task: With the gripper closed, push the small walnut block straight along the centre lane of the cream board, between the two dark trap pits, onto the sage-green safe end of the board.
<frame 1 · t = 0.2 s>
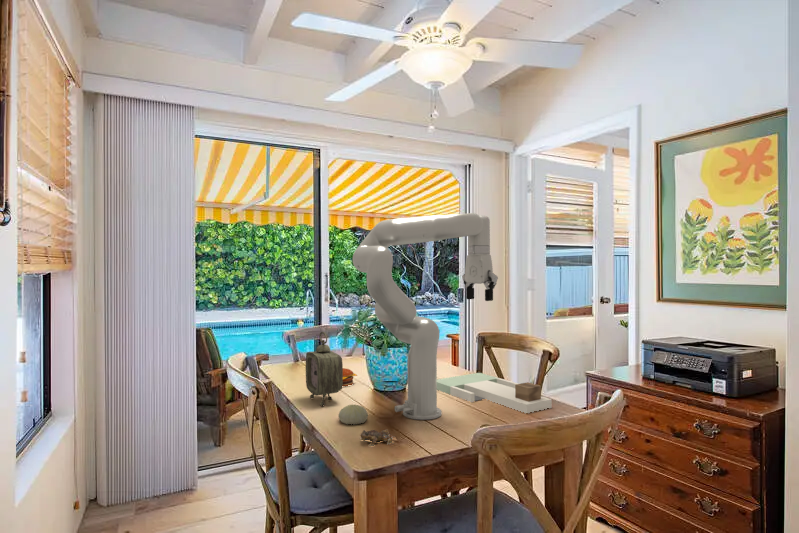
hand: (479, 299, 172), 36 cm above the table, tool pointing down, fingers open, 9 cm apart
hamburger: (342, 385, 200), on the table
walnut block: (528, 398, 168), point 3 cm above the table, touching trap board
frog figurine: (377, 443, 136), on the table
tabletop clock: (324, 402, 175), on the table
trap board: (493, 395, 182), on the table
sea urchin shell: (353, 422, 153), on the table
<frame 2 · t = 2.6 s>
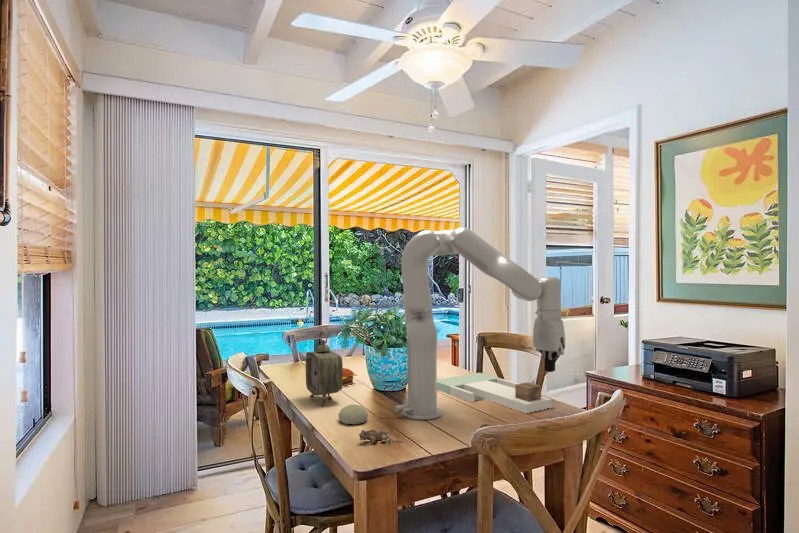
hand: (549, 371, 160), 14 cm above the table, tool pointing down, fingers closed
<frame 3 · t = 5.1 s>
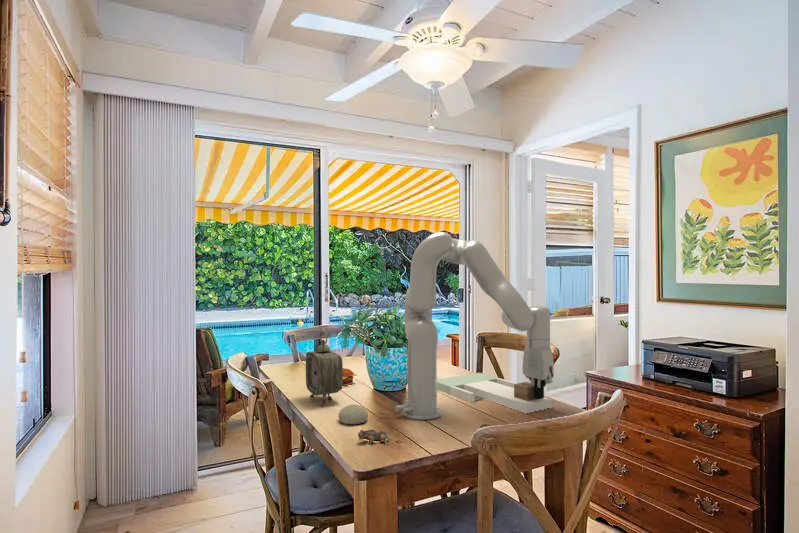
hand: (538, 398, 164), 4 cm above the table, tool pointing down, fingers closed
walnut block: (526, 397, 168), point 3 cm above the table, touching gripper
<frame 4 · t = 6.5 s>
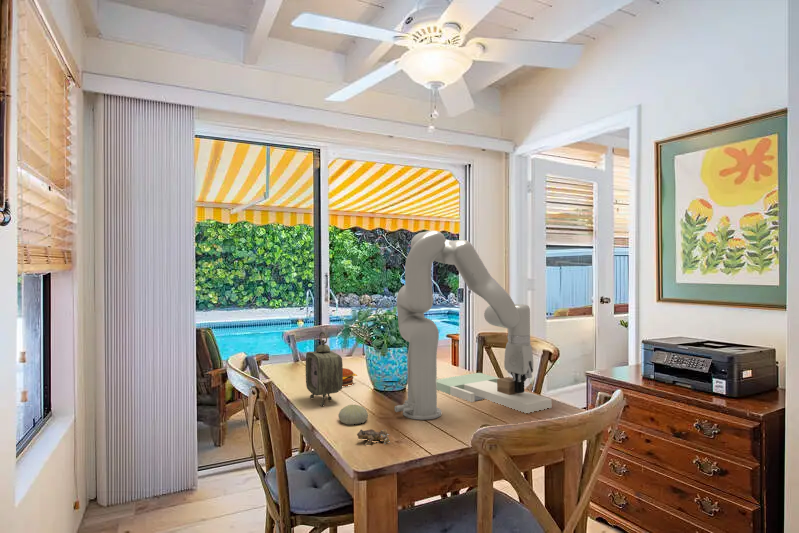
hand: (519, 392, 171), 4 cm above the table, tool pointing down, fingers closed
walnut block: (509, 391, 176), point 3 cm above the table, touching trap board
everything else where it was.
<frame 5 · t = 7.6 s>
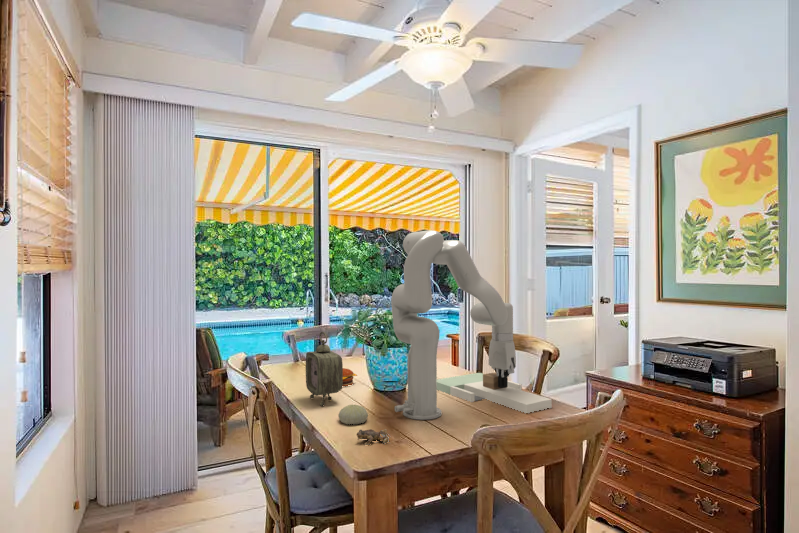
hand: (502, 387, 178), 4 cm above the table, tool pointing down, fingers closed
walnut block: (494, 386, 183), point 3 cm above the table, touching gripper
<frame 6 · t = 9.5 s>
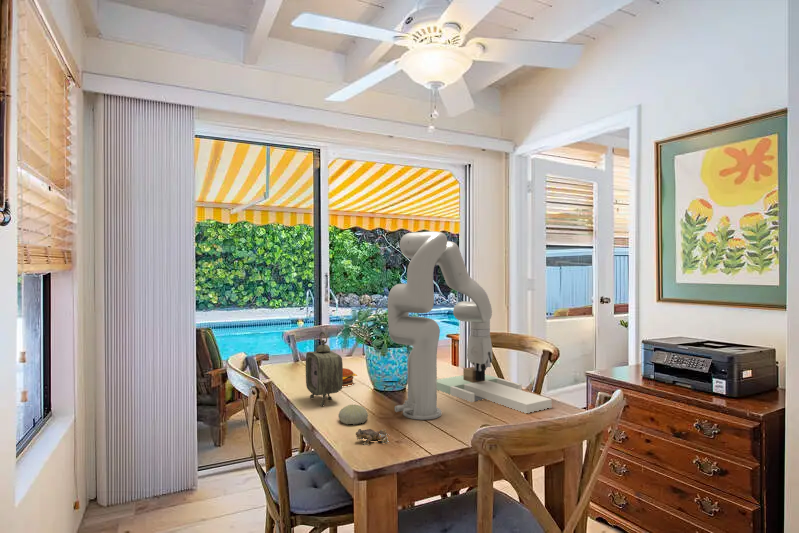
hand: (480, 380, 189), 4 cm above the table, tool pointing down, fingers closed
walnut block: (474, 380, 194), point 3 cm above the table, touching gripper, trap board
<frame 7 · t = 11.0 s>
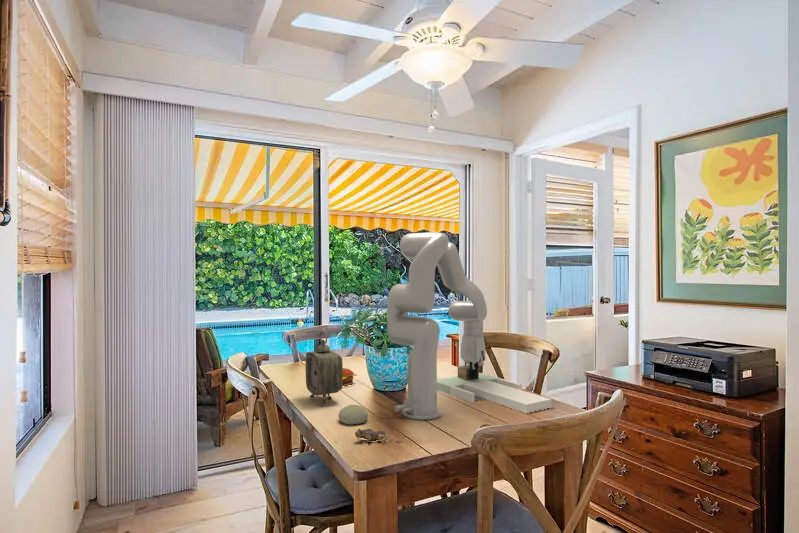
hand: (473, 378, 192), 4 cm above the table, tool pointing down, fingers closed
walnut block: (468, 378, 197), point 3 cm above the table, touching gripper, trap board
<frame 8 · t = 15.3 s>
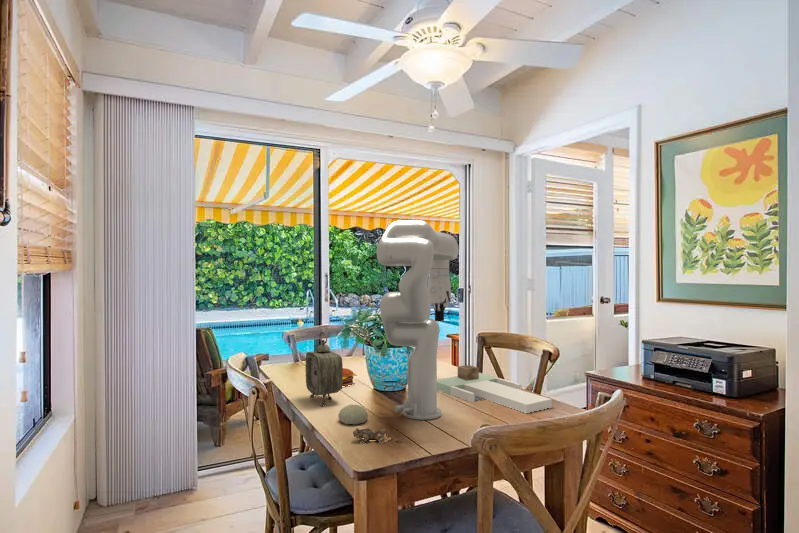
hand: (439, 321, 188), 27 cm above the table, tool pointing down, fingers closed
walnut block: (468, 378, 197), point 3 cm above the table, touching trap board
at the end: walnut block inside the target area (1.8 cm from its centre), point 3.0 cm above the table; walnut block tilted 0°; walnut block moved 33.7 cm from its start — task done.
